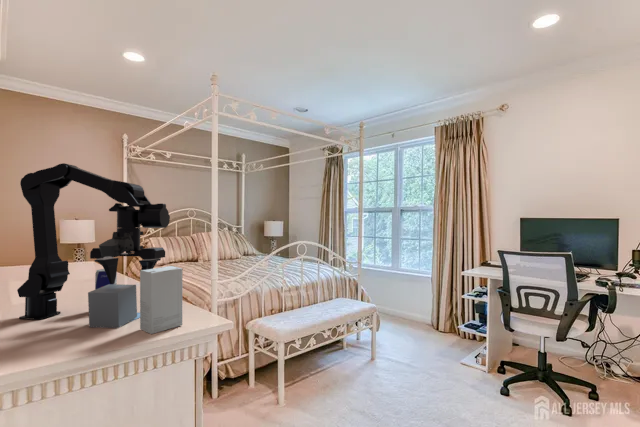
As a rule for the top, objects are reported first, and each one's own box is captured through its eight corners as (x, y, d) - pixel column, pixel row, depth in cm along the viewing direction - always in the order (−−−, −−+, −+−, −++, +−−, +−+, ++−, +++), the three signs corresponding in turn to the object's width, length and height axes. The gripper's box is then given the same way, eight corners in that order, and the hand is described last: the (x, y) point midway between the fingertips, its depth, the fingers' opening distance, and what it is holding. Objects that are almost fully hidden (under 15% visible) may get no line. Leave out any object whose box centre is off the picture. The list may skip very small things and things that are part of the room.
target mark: (102, 320, 88) (102, 320, 88) (122, 312, 96) (122, 312, 96) (130, 321, 87) (130, 321, 87) (148, 313, 95) (148, 312, 95)
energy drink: (105, 313, 95) (106, 271, 96) (90, 312, 96) (90, 270, 97) (120, 308, 101) (121, 268, 101) (105, 307, 102) (106, 268, 102)
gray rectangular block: (89, 327, 82) (87, 292, 82) (109, 316, 90) (108, 284, 90) (118, 327, 82) (117, 292, 82) (137, 316, 90) (136, 284, 89)
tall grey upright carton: (170, 322, 87) (171, 265, 88) (183, 326, 84) (184, 267, 84) (137, 330, 80) (139, 268, 81) (150, 335, 77) (151, 271, 77)
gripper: (73, 228, 85) (72, 289, 85) (142, 228, 83) (141, 290, 83) (105, 227, 96) (104, 281, 96) (166, 227, 94) (166, 282, 94)
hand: (127, 284), depth 92 cm, fingers open, 9 cm apart
